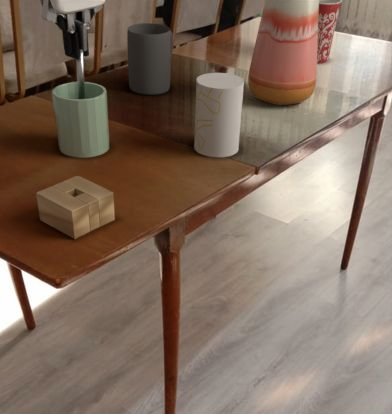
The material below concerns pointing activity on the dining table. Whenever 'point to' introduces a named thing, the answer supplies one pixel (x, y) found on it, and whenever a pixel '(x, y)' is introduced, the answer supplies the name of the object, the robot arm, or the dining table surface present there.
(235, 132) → the white cylinder
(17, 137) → the dining table surface
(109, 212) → the spoon stand
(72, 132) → the mint green mug
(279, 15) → the vase
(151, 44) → the mug
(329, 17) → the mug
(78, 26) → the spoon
